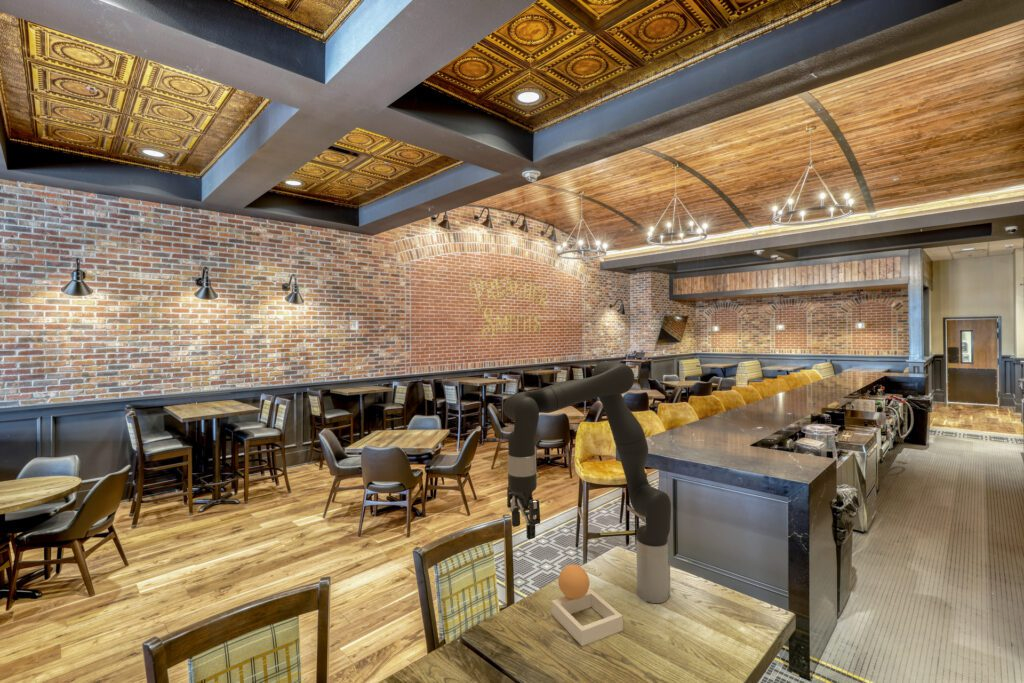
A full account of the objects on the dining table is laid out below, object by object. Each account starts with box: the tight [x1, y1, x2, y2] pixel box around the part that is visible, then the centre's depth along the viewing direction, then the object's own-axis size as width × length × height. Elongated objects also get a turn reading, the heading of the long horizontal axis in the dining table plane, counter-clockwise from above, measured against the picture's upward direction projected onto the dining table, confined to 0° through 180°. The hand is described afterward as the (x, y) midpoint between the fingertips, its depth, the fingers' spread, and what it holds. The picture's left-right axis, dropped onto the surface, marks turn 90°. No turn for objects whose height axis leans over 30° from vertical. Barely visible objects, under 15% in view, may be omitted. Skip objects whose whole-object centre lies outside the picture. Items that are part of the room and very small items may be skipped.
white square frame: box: [551, 587, 624, 647], centre depth 127 cm, size 14×15×4 cm
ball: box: [557, 564, 590, 599], centre depth 132 cm, size 9×9×9 cm
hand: (523, 531), depth 119 cm, fingers open, 8 cm apart
